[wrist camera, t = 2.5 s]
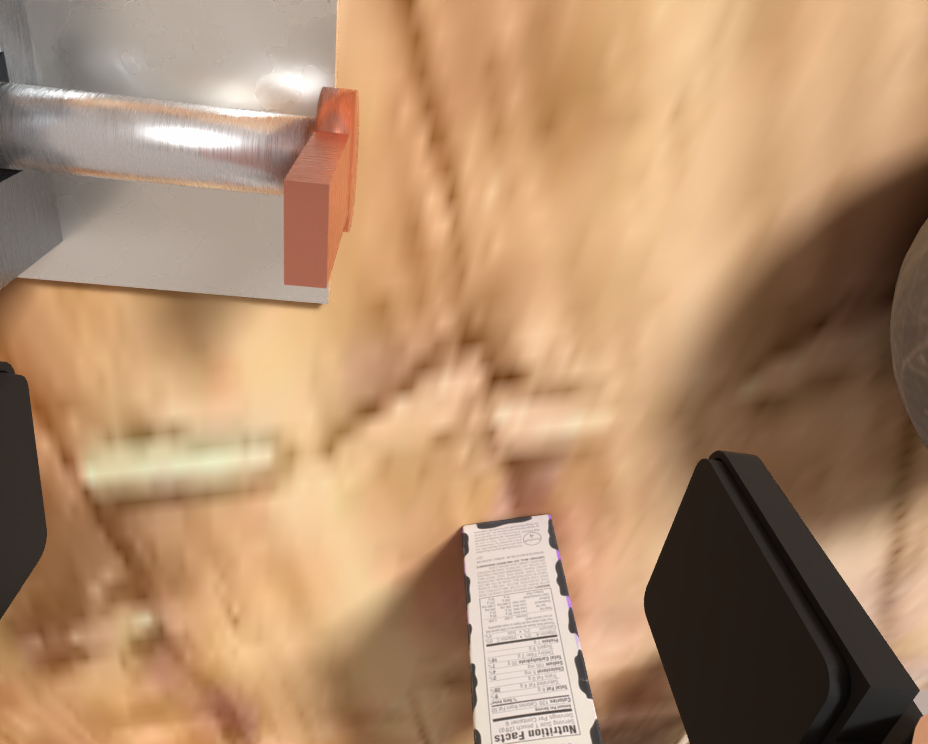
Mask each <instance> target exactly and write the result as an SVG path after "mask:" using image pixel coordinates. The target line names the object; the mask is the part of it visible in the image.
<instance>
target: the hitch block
mask: <svg viewBox="0 0 928 744" xmlns="http://www.w3.org/2000/svg"><path fill="white" fill-rule="evenodd" d="M339 4H340V0H0V82H8V83H17V84H26V85H35V86H43V87H52V88H61V89H70V90H79V91H88V92H97V93H105V94H114V95H123V96H132V97H141V98H150V99H158V100H167V101H176V102H185V103H194V104H203V105H212V106H220V107H229V108H238V109H247V110H256V111H265V112H273V113H282V114H291V115H300V116H309V117H316V114H317V107H318V101H319V96H320V92H321V89H322V87H324V86H325V87H333V88H337V68H338V36H339ZM16 277H19V278H31V279H42V280H54V281H65V282H77V283H89V284H100V285H112V286H123V287H135V288H147V289H158V290H170V291H181V292H193V293H205V294H216V295H228V296H239V297H251V298H263V299H274V300H286V301H297V302H309V303H321V304H328V303H329V299H330V293H331V274H330V278H329V281H328V285H327V288H316V287H305V286H293V285H284V197H282V196H273V195H263V194H253V193H243V192H233V191H223V190H213V189H203V188H193V187H184V186H174V185H164V184H154V183H144V182H134V181H124V180H114V179H104V178H94V177H85V176H75V175H65V174H55V173H45V172H35V171H25V170H15V169H5V168H0V290H1V289H2V288H3V287H5V286H6V285H7V284H9V283H10V282H11V281H12V280H14V279H15V278H16Z"/></svg>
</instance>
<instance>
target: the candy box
mask: <svg viewBox="0 0 928 744" xmlns="http://www.w3.org/2000/svg"><path fill="white" fill-rule="evenodd" d="M461 533H462V546H463V560H464V577H465V590H466V607H467V623H468V641H469V654H470V670H471V691H472V710H473V727H474V741H475V744H603V742H602V737H601V733H600V728H599V724H598V720H597V716H596V712H595V707H594V703H593V698H592V693H591V690H590V686H589V681H588V676H587V671H586V667H585V662H584V658H583V654H582V650H581V646H580V641H579V636H578V632H577V628H576V623H575V619H574V615H573V610H572V605H571V601H570V598H569V594H568V589H567V584H566V580H565V575H564V572H563V567H562V563H561V558H560V554H559V550H558V546H557V541H556V537H555V533H554V528H553V524H552V519H551V516H550V514H546V515H538V516H530V517H521V518H516V519H509V520H501V521H491V522H485V523H477V524H471V525H465V526H463V528H462V531H461Z"/></svg>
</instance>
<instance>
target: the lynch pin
mask: <svg viewBox="0 0 928 744" xmlns="http://www.w3.org/2000/svg"><path fill="white" fill-rule="evenodd" d="M358 136H359V98H358V91H357V90H350V89H342V88H333V87H325V86H324V87H322V89H321V92H320V96H319V101H318V107H317V114H316V117H309V116H300V115H291V114H282V113H273V112H265V111H256V110H247V109H238V108H229V107H220V106H212V105H203V104H194V103H185V102H176V101H167V100H158V99H150V98H141V97H132V96H123V95H114V94H105V93H97V92H88V91H79V90H70V89H61V88H52V87H43V86H35V85H26V84H17V83H8V82H0V168H5V169H15V170H25V171H35V172H45V173H55V174H65V175H75V176H85V177H94V178H104V179H114V180H124V181H134V182H144V183H154V184H164V185H174V186H184V187H193V188H203V189H213V190H223V191H233V192H243V193H253V194H263V195H273V196H282V197H284V285H293V286H305V287H316V288H327V285H328V281H329V278H330V274H331V271H332V267H333V264H334V260H335V257H336V253H337V250H338V246H339V243H340V239H341V236H342V232H349V231H350V227H351V222H352V215H353V207H354V198H355V187H356V174H357V158H358Z"/></svg>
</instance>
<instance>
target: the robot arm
mask: <svg viewBox="0 0 928 744" xmlns="http://www.w3.org/2000/svg"><path fill="white" fill-rule="evenodd" d="M46 538H47V528H46V520H45V513H44V505H43V497H42V489H41V481H40V474H39V466H38V458H37V450H36V443H35V435H34V427H33V419H32V411H31V404H30V396H29V388H28V383H27V380H26V379H25V377H24V376H22V375H16V374H15V372H14V369H13V368H12V366H11V365H10V364H8V363H7V362H1V361H0V619H1V618H2V616H3V615H4V613H5V612H6V610H7V609H8V607H9V605H10V604H11V602H12V601H13V599H14V598H15V596H16V595H17V593H18V592H19V590H20V589H21V587H22V586H23V584H24V582H25V581H26V579H27V578H28V576H29V575H30V573H31V572H32V570H33V569H34V567H35V566H36V564H37V563H38V561H39V559H40V557H41V556H42V553H43V551H44V548H45V544H46ZM644 609H645V614H646V617H647V620H648V623H649V626H650V629H651V632H652V635H653V638H654V640H655V643H656V646H657V649H658V652H659V655H660V658H661V661H662V664H663V666H664V669H665V672H666V675H667V678H668V681H669V684H670V687H671V690H672V693H673V695H674V698H675V701H676V704H677V707H678V710H679V713H680V716H681V719H682V721H683V724H684V727H685V730H686V733H687V736H688V739H689V742H690V744H928V714H927V715H925V716H923V715H922V713H921V712H920V710H919V709H918V707H917V706H916V704H915V703H914V701H913V699H914V698H915V696H916V695H917V694H918V692H919V691H920V690H919V688H918V687H917V686H916V684H915V683H914V681H913V680H912V678H911V677H910V675H909V674H908V673H907V671H906V670H905V668H904V667H903V665H902V664H901V662H900V661H899V660H898V658H897V657H896V655H895V654H894V652H893V651H892V649H891V648H890V647H889V645H888V644H887V642H886V641H885V639H884V638H883V636H882V635H881V633H880V632H879V631H878V629H877V628H876V626H875V625H874V623H873V622H872V620H871V619H870V618H869V616H868V615H867V613H866V612H865V610H864V609H863V607H862V606H861V605H860V603H859V602H858V600H857V599H856V597H855V596H854V594H853V593H852V592H851V590H850V589H849V587H848V586H847V584H846V583H845V581H844V580H843V578H842V577H841V576H840V574H839V573H838V571H837V570H836V568H835V567H834V565H833V564H832V563H831V561H830V560H829V558H828V557H827V555H826V554H825V552H824V551H823V550H822V548H821V547H820V545H819V544H818V542H817V541H816V539H815V538H814V537H813V535H812V534H811V532H810V531H809V529H808V528H807V526H806V525H805V523H804V522H803V521H802V519H801V518H800V516H799V515H798V513H797V512H796V510H795V509H794V508H793V506H792V505H791V503H790V502H789V500H788V499H787V497H786V496H785V495H784V493H783V492H782V490H781V489H780V487H779V486H778V484H777V483H776V482H775V480H774V479H773V477H772V476H771V474H770V473H769V471H768V470H767V468H766V467H765V466H764V464H763V463H762V461H761V460H760V459H759V458H758V457H757V456H755V455H750V454H742V453H734V452H726V451H716V452H713V453H712V454H711V455H710V457H709V459H702V460H700V461H699V462H698V464H697V466H696V468H695V470H694V473H693V475H692V477H691V480H690V482H689V485H688V487H687V490H686V492H685V495H684V497H683V499H682V502H681V504H680V507H679V509H678V512H677V514H676V517H675V519H674V522H673V524H672V526H671V529H670V531H669V534H668V536H667V539H666V541H665V544H664V546H663V548H662V551H661V553H660V556H659V558H658V561H657V563H656V566H655V568H654V570H653V573H652V575H651V578H650V580H649V583H648V585H647V588H646V591H645V596H644Z"/></svg>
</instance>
